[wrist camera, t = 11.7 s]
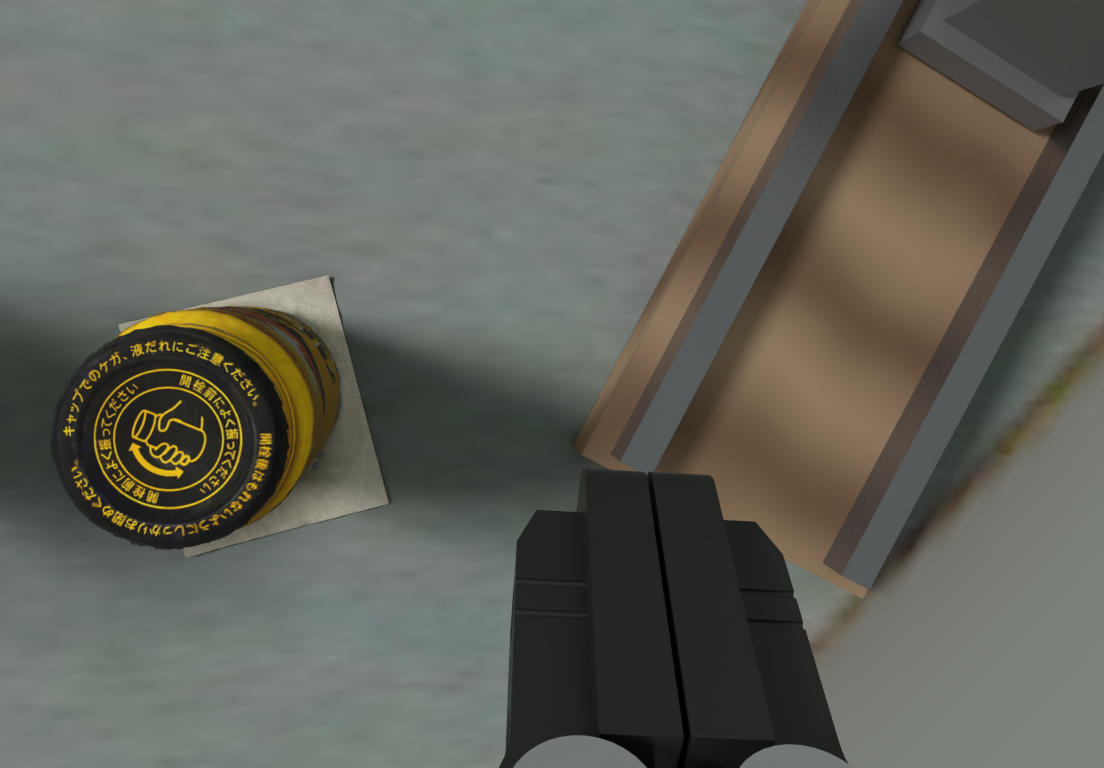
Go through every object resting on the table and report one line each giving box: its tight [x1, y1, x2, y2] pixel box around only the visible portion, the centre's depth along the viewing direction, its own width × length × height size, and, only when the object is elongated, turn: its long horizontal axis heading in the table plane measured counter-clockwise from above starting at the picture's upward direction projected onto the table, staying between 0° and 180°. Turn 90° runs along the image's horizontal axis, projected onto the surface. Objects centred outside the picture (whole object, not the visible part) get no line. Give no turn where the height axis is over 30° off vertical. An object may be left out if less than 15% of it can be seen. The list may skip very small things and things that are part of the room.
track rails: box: [611, 0, 1104, 590], centre depth 32 cm, size 29×10×2 cm, turn 152°
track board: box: [573, 0, 1056, 599], centre depth 35 cm, size 30×12×2 cm, turn 152°
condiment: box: [51, 275, 389, 558], centre depth 27 cm, size 7×8×12 cm
